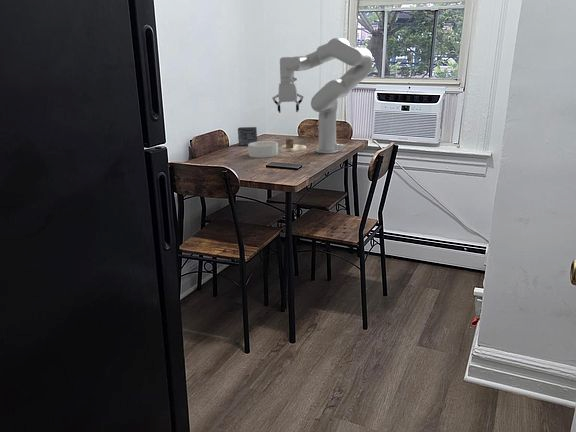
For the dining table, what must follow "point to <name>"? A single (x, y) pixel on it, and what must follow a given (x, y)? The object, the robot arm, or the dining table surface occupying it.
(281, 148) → the lid
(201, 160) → the dining table surface
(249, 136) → the small box
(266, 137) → the dining table surface
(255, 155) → the bowl
